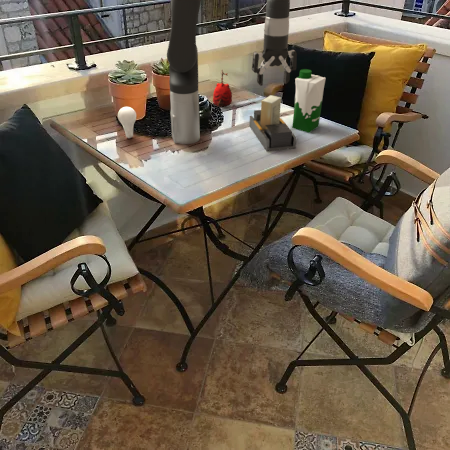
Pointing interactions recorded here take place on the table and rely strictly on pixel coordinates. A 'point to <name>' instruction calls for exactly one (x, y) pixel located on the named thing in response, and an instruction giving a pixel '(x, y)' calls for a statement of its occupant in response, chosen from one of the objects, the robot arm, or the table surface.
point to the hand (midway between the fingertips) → (273, 84)
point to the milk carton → (308, 101)
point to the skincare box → (270, 111)
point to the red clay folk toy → (222, 94)
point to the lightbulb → (127, 120)
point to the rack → (272, 134)
